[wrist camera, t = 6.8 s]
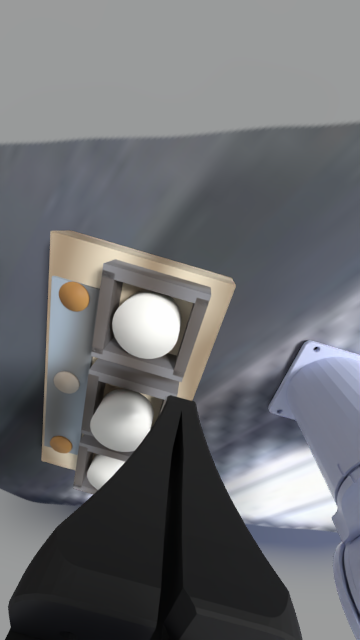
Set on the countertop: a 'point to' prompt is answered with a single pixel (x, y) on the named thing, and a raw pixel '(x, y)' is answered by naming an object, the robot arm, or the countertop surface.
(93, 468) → the button
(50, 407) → the button board
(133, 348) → the button
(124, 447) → the middle button
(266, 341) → the countertop surface
